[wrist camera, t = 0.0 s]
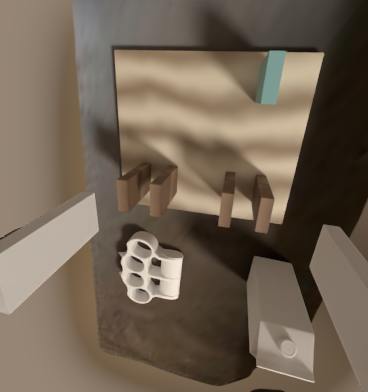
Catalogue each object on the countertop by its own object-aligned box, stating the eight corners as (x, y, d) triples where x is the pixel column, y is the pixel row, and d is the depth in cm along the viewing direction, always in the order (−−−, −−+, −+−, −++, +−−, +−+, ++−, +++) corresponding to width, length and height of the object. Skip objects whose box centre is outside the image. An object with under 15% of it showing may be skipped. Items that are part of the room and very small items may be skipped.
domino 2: (168, 191, 43) (150, 215, 34) (169, 165, 41) (149, 184, 32) (176, 192, 43) (160, 217, 34) (177, 166, 41) (160, 185, 32)
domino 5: (251, 201, 40) (254, 231, 31) (256, 174, 38) (261, 197, 29) (260, 203, 40) (267, 233, 31) (266, 175, 38) (274, 199, 29)
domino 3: (222, 198, 41) (218, 225, 32) (225, 171, 39) (222, 192, 30) (231, 199, 41) (229, 227, 32) (235, 172, 39) (234, 194, 30)
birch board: (117, 51, 37) (114, 49, 36) (321, 54, 31) (324, 52, 30) (126, 199, 47) (123, 201, 46) (280, 221, 42) (281, 224, 41)
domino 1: (143, 188, 44) (118, 211, 35) (142, 162, 42) (116, 179, 33) (151, 189, 43) (128, 212, 34) (151, 163, 41) (126, 181, 32)
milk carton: (281, 290, 47) (306, 398, 30) (246, 282, 48) (250, 381, 31) (291, 262, 44) (324, 365, 27) (253, 254, 46) (263, 348, 28)
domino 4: (254, 102, 34) (260, 103, 25) (260, 64, 32) (269, 50, 23) (265, 103, 34) (275, 104, 25) (272, 64, 32) (286, 50, 23)
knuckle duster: (178, 301, 55) (122, 286, 58) (186, 238, 48) (121, 225, 50) (175, 312, 52) (115, 297, 55) (182, 248, 45) (113, 233, 47)
